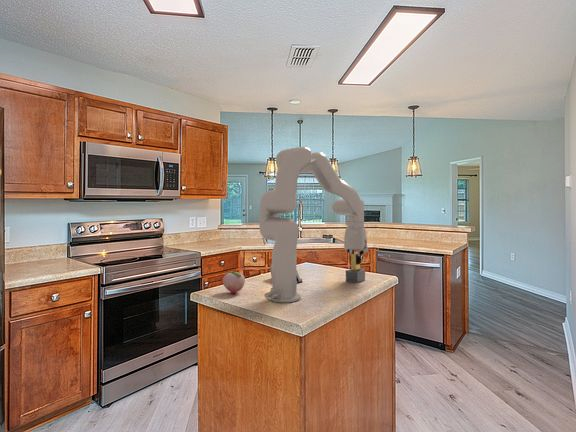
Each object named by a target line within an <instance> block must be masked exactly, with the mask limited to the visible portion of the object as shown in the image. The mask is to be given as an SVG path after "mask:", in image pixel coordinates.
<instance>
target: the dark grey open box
mask: <svg viewBox="0 0 576 432" xmlns="http://www.w3.org/2000/svg"><path fill="white" fill-rule="evenodd" d="M363 281H366V269H363V268H360V270H359V271H351V268H350V269H346V270H345V282H350V283H354V284H358V283H361V282H363Z"/></svg>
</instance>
